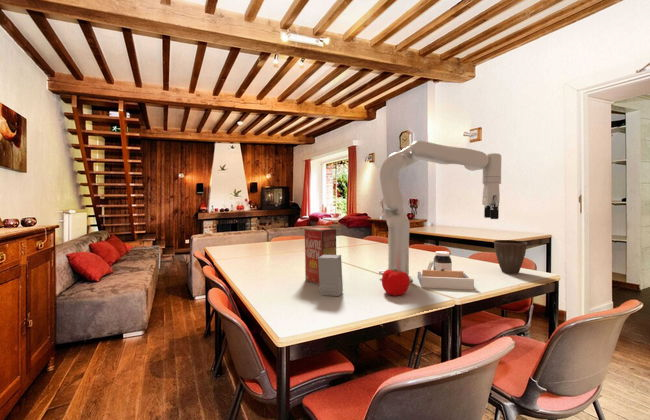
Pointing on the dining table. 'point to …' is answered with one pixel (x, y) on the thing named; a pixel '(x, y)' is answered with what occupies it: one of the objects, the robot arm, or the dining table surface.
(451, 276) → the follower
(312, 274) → the food packaging
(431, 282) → the white rectangular tray
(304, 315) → the dining table surface
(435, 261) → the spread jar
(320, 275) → the skincare box
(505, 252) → the plant pot
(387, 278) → the tomato
